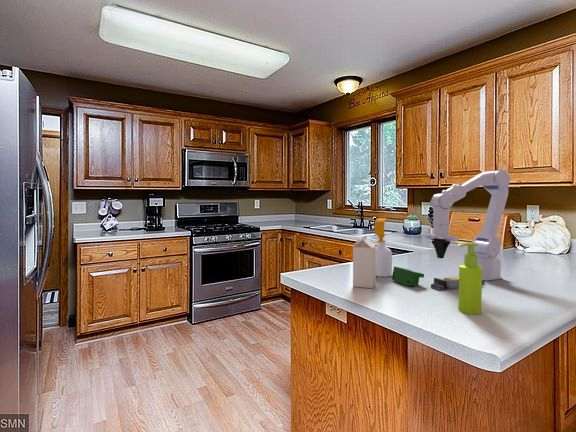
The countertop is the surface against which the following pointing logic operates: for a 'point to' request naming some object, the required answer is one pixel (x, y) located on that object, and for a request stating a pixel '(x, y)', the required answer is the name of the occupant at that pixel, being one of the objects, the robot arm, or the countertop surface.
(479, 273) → the soap dispenser
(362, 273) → the milk carton
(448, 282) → the chain end blocks
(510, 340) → the countertop surface
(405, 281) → the green angular piece
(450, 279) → the light wood block
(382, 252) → the soap bottle
